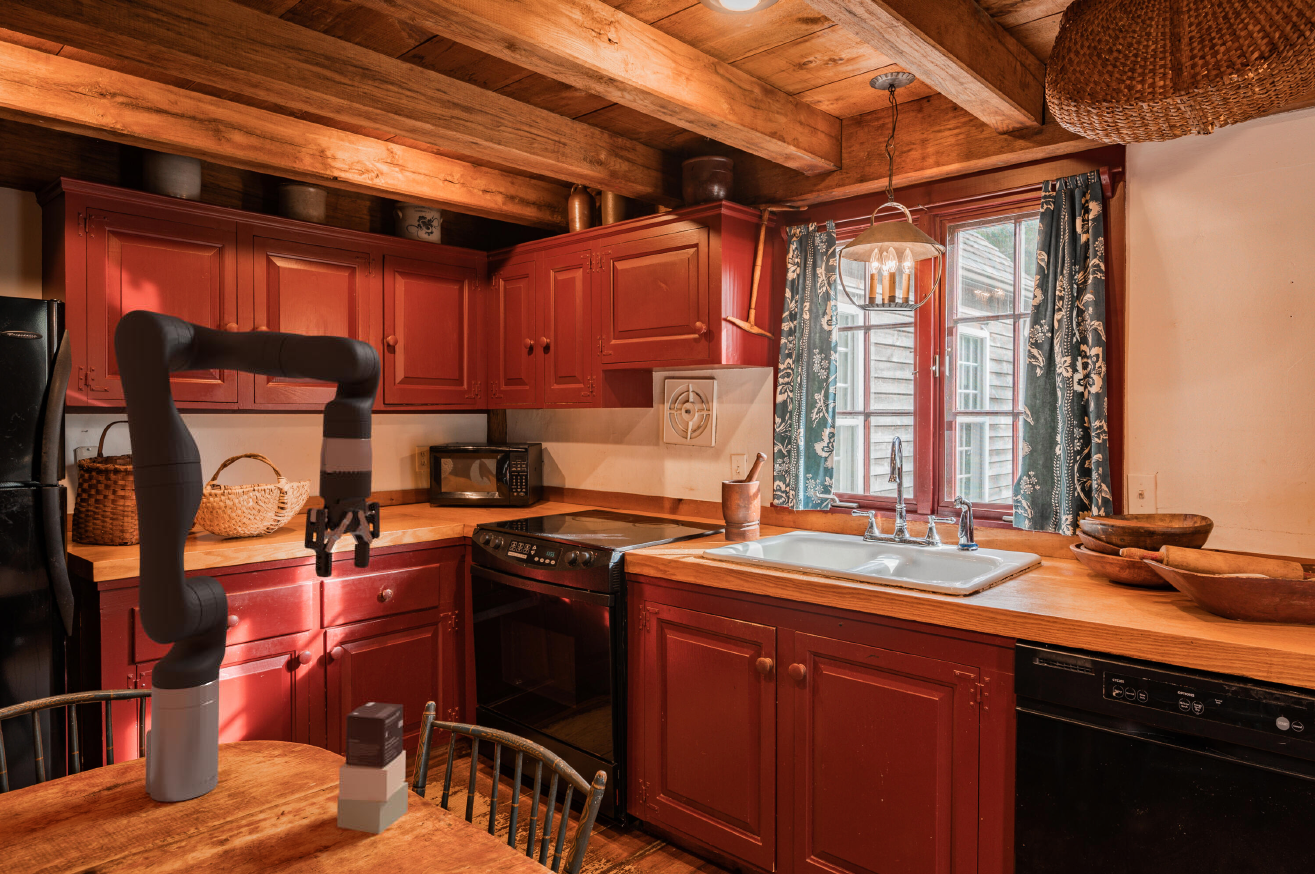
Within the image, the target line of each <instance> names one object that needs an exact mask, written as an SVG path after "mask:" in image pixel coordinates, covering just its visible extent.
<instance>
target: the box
mask: <svg viewBox="0 0 1315 874" xmlns="http://www.w3.org/2000/svg"><path fill="white" fill-rule="evenodd" d="M403 711H404V704H399V703H397V704H396V703H382V702H366V703H364V704H363V705H362V706H359V707H357V708H355V709H354V710H353V711H352V712H349V713H347V715H346V727H345V728H346V730H345V732H346V733H345V735H346V736H345V739H346V741H345V762H346V764H347V765H355V766H367V767H376V768H383V767H385V766H386V765H388V764H389V763H390V762H392V761H393V760H394V759H395V758H397V757H398V756H399V755H400V754H401V753H402V752H403V750H404V749H403V748H404V747H403V745H404V744H403V743H404V741H403V740H404V738H403V735H404V733H403V732H404V731H403V729H404V725H403V724H404V712H403Z"/></svg>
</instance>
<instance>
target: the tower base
mask: <svg viewBox="0 0 1315 874" xmlns="http://www.w3.org/2000/svg"><path fill="white" fill-rule="evenodd" d="M408 790H409V782H405V781H404V782H403V783H402V784H401V785H400V787H399V788H398V789H397V790H396V791H395V792H394V793H393V795H392V796H391V797H390V798H389V799H388V800H387V801H368V800H347V799H339V795H338V796H337V813H336V814H337V816H336V817H337V818H336V820H337V821H336V822H337V826H336V827H337V828H343V829H347V830H354V831H360V832H366V833H372V834H377V835H380V834H382V833H384V831H385V830H386V829H388V828H389V827H390V826H392V825H393V824H394V823H395V822H396V821H398V820H399V819H400V818H402V816H404V815H405V814H406V813H408V798H409V797H408V796H409V795H408V793H409V791H408Z"/></svg>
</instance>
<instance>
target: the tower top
mask: <svg viewBox="0 0 1315 874" xmlns="http://www.w3.org/2000/svg"><path fill="white" fill-rule="evenodd" d="M406 752H407V751H406V750H404V749H403V752H402V753H401V754H400V755H399V756H398V757H397V758H395V759H394V760H393V761H392V762H390V763H389V764H388V765H386V766H385V767H383V768H376V767H367V766H355V765H347V764H346V761H345V762H344V763H343V764H341V766H340V767H339V769H338V771H339V772H338V774H339V775H338V796H339V799H347V800H368V801H387V800H388V799H389V798H390V797H391V796H392V795H393V793H394V792H395V791H396V790H397V789H398V788H399V787H400V785H401V784H402V783H403V782H405V780H406V757H407V756H406Z"/></svg>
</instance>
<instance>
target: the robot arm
mask: <svg viewBox="0 0 1315 874" xmlns="http://www.w3.org/2000/svg"><path fill="white" fill-rule="evenodd" d="M113 335H114V337H113V346H114V347H113V348H114V349H113V350H114V355H115V360H116V364H117V370H118V375H119V379H120V383H121V388H122V391H123V397H124V402H125V408H126V416H127V417H126V418H127V425H128V432H129V434H128V435H129V439H130V449H131V450H130V451H131V468H132V480H133V488H134V489H133V491H134V496H135V503H136V512H137V513H136V514H137V527H138V530H137V531H138V543H139V544H138V545H139V549H138V550H139V566H138V567H139V572H138V573H139V576H138V614H139V619H140V624H141V627H142V629H143V631H144V632H145V635H147V637H148V638H149V639H150V640H151V641H152V642H154V643H157V644H158V645H169V644H173V645H172V646H171V648H170V649H169V650H168V652H167V653H166V654H165V655H164V656H163V657H162V658H161V659H159V660H158V661H157V662H156V663H155V664H154V666H153V668H152V670H151V696H150V697H151V699H150V700H151V702H150V703H151V707H150V708H151V709H150V713H151V714H150V729H148V731H146V733H145V781H144V782H145V786H144V788H145V790H144V792H145V793H148V794H149V796H150V797H151V799H153V800H155V801H159V802H179V801H186V800H190V799H193V798H197V797H200V796H203V795H204V794H207V793H210V792H211V791H213V789H215V788H216V787H217V786H218V783H219V740H220V739H219V737H220V735H219V733H220V732H219V728H220V726H219V724H220V719H219V718H220V712H219V711H220V669H221V667H222V666H221V665H222V663H223V661H224V658H225V655H226V649H227V635H228V634H227V633H228V632H227V631H228V621H229V620H228V619H229V605H228V603H229V602H228V598H227V593H226V591H225V588H224V587H223V585H222V584H221V582H220V581H218V580H217V579H216V578H214V577H211V576H209V575H195V576H194V575H193V576H190V577H187V578H186V575H185V547H186V543H187V540H188V539H187V538H188V537H189V534H190V531H191V528H192V526H193V524H194V522H195V519H196V517H197V514H198V512H199V509H200V507H201V504H202V500H203V498H204V497H203V495H204V480H203V471H202V460H201V455H200V450H199V447H198V445H197V442H196V441H195V439H194V437H193V435H192V433H191V431H190V430H189V428H188V426H187V425H186V422H185V421H184V419H183V418H182V416H181V414H180V412H179V410H178V408H177V406H176V404H175V401H174V397H173V393H172V387H171V378H170V374H173V373H181V372H193V371H194V372H195V371H204V370H205V371H206V370H225V371H227V370H228V371H235V372H241V373H246V374H247V373H248V374H251V375H252V374H253V375H259V376H265V377H274V378H284V379H297V380H299V379H300V380H301V379H303V380H304V379H311V380H316V381H322V382H329V383H336V384H337V386H336V391H335V396H334V398H333V399H332V400H330V401H328V402H327V403H326V404H325V406H324V407H323V417H322V418H323V419H322V441H321V448H320V453H319V454H320V455H319V459H320V460H319V486H318V487H319V489H318V490H319V491H318V494H319V495H318V496H319V497H320V498H321V499H323V501H324V502H323V506H322V508H317V507H315V508H314V507H313V508H312V507H310V508H307V510H306V518H305V519H306V521H305V532H304V548H305V549H307V550H313V551H314V552H315V566H314V567H315V570H314V571H315V574H316V576H317V577H320V578H329V577H331V576H332V574H333V572H332V571H333V552H332V549H333V548H334V546H335V544H336V542H337V541H338V540H340V539H341V537H342V536H343V535H346V534H350V535H351V536H352V538H353V539H354V541H355V544H354V560H353V565H354V567H355V568H360V569H365V568H368V567H369V564H370V552H371V544H372V543H373V540H375V539H376V540H377V539H379V538H380V534H381V529H380V528H381V527H380V526H381V521H380V520H381V519H380V518H381V517H380V515H381V514H380V513H381V511H380V505H381V504H380V502H378V501H366V499H369V498H371V496H372V481H373V479H372V477H373V476H372V475H373V448H372V447H373V446H372V424H373V423H372V418H373V416H372V411H373V408H374V404H375V401H376V397H377V393H378V390H379V389H378V388H379V386H380V381H381V374H382V373H381V372H382V371H381V370H382V368H381V367H382V364H381V358H380V356H379V355H380V354H379V353H378V351H377V349H376V348H375V347H374V346H373V345H372V344H370V343H369V342H367V341H364V340H359V339H355V338H350V337H347V336H338V335H306V334H300V333H293V332H285V331H284V332H283V331H271V330H270V331H269V330H249V331H246V330H245V331H231V330H228V331H227V330H221V329H217V328H211V327H207V326H203V325H201V324H197V323H194V322H189V321H187V320H184V319H182V318H180V317H177V316H173V315H170V314H165V313H161V312H155V311H150V310H145V309H136V310H135V309H134V310H132V311H131V310H130V311H129V312H127V313H125V314H123V316H122V317H121V318H120V319H119V321H118V322H117V324H116V327H115V330H114V334H113ZM370 524H372V530H371V528H370V526H371V525H370ZM314 534H315V540H314ZM325 541H326V542H325Z"/></svg>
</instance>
